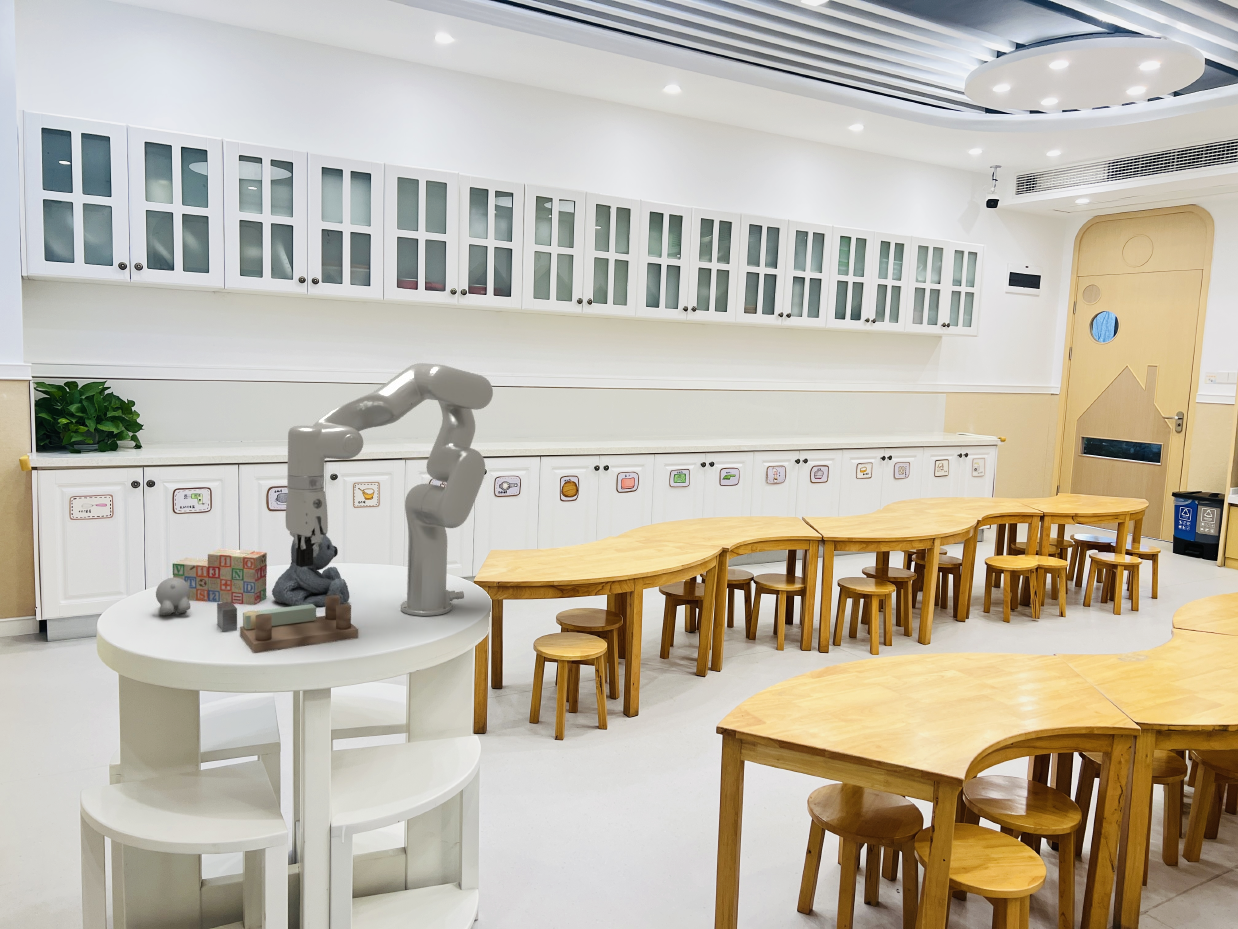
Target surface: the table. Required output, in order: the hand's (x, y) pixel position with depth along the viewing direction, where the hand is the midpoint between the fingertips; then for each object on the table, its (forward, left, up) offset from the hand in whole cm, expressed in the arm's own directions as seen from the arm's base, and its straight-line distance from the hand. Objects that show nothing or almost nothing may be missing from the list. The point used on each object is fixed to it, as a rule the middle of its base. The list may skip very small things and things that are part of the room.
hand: (304, 565), depth 192 cm
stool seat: (+1, -1, -16) cm, 16 cm away
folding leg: (+4, -6, -14) cm, 16 cm away
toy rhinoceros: (+22, -32, -17) cm, 42 cm away
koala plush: (-9, -29, -17) cm, 34 cm away
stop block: (+13, -15, -16) cm, 25 cm away
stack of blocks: (+10, -39, -17) cm, 44 cm away
